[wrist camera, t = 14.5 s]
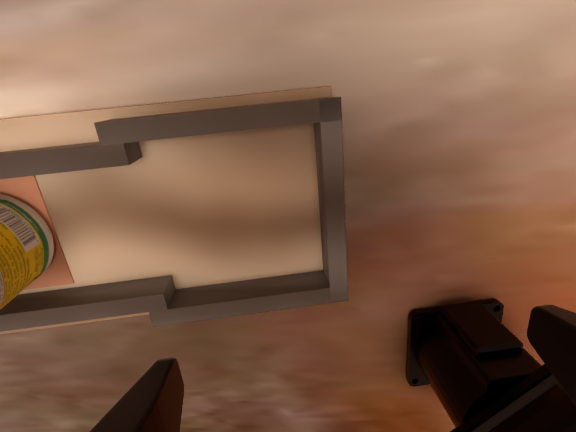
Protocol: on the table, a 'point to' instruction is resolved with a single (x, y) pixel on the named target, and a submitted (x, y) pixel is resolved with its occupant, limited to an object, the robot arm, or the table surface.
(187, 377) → the table surface
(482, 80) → the table surface
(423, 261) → the table surface
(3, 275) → the supplement bottle
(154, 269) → the grey flat frame
